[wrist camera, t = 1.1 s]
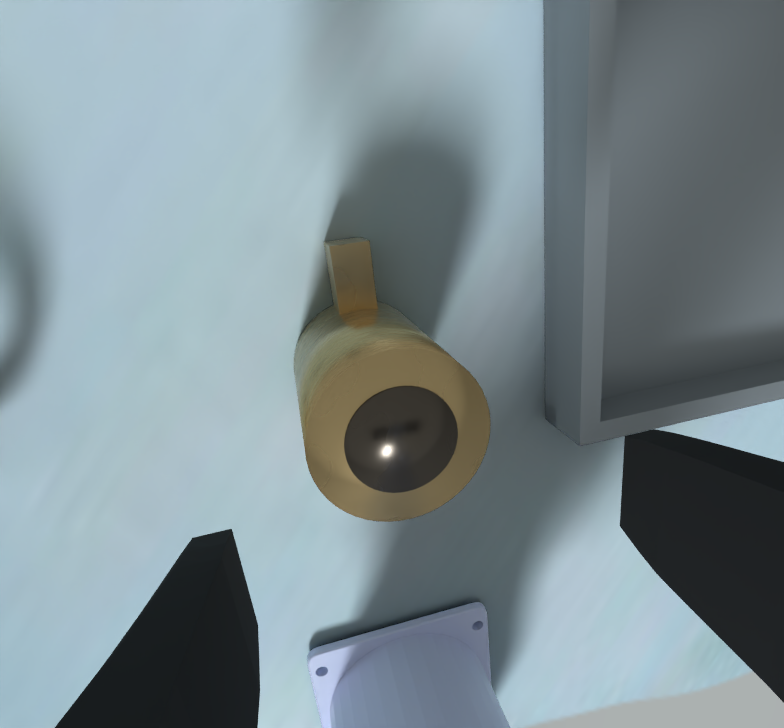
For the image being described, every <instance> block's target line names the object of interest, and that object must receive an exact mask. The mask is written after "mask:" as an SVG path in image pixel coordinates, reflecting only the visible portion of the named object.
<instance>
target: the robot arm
mask: <svg viewBox="0 0 784 728" xmlns="http://www.w3.org/2000/svg"><path fill="white" fill-rule="evenodd" d="M620 527H621V528H622V529H623V531H624V532H625V534H626V535H627V536H628V538H629V539H630V540H631V542H632V543H633V544H634V546H635V547H636V548H637V550H638V551H639V552H640V554H641V555H642V556H643V557H644V558H645V560H646V561H647V562H648V563H649V565H650V566H651V567H652V568H653V570H654V571H655V572H656V573H657V574H658V575H659V576H660V577H661V579H662V580H663V581H664V582H665V583H666V584H667V585H668V586H669V587H670V588H671V589H672V590H673V591H674V592H675V593H676V594H677V595H678V596H679V597H680V598H681V599H682V600H683V601H684V602H685V603H686V604H687V605H688V606H689V607H690V608H691V609H692V610H693V611H694V612H695V613H696V614H697V615H698V616H699V617H700V618H701V619H702V620H703V621H704V622H705V623H706V624H707V625H708V626H709V627H710V628H711V629H712V630H713V631H714V632H715V633H716V634H717V635H718V636H719V637H720V638H721V639H722V640H723V641H724V642H725V643H726V644H727V645H728V646H729V647H730V648H731V649H732V650H733V651H734V652H735V653H736V654H737V655H738V656H739V657H740V658H741V659H742V660H743V661H744V662H745V663H746V664H747V665H748V666H749V667H750V668H751V669H752V670H753V671H754V672H755V673H756V674H757V675H758V676H759V677H760V678H761V679H762V680H763V681H764V682H765V683H766V684H767V685H768V686H769V687H770V688H771V690H772V691H773V692H774V693H775V694H776V695H777V696H778V697H779V698H780V699H781V700H782V701H783V702H784V462H781V461H777V460H774V459H770V458H766V457H763V456H759V455H756V454H752V453H748V452H745V451H741V450H737V449H734V448H730V447H726V446H723V445H719V444H715V443H712V442H708V441H704V440H700V439H696V438H692V437H688V436H684V435H680V434H675V433H671V432H666V431H660V430H654V429H653V430H648V431H644V432H640V433H636V434H631V435H627V436H625V444H624V462H623V480H622V498H621V516H620ZM475 622H476V623H475ZM307 661H308V668H309V672H310V677H311V681H312V685H313V690H314V694H315V698H316V702H317V707H318V711H319V715H320V720H321V724H322V728H510V726H509V724H508V721H507V719H506V717H505V715H504V713H503V710H502V708H501V706H500V704H499V702H498V699H497V697H496V695H495V693H494V691H493V688H492V686H491V670H490V653H489V636H488V619H487V611H486V609H485V607H484V605H483V604H482V603H479V602H473V603H470V604H466V605H463V606H459V607H456V608H452V609H449V610H445V611H442V612H438V613H435V614H431V615H428V616H424V617H421V618H417V619H414V620H410V621H407V622H403V623H400V624H396V625H393V626H389V627H386V628H382V629H379V630H375V631H372V632H368V633H364V634H361V635H357V636H354V637H350V638H347V639H343V640H340V641H336V642H333V643H329V644H326V645H322V646H319V647H316V648H314V649H312V650H311V651H310V652H309V654H308V656H307ZM320 667H323V668H320ZM259 696H260V674H259V643H258V624H257V620H256V616H255V613H254V609H253V605H252V602H251V598H250V594H249V591H248V587H247V583H246V580H245V576H244V572H243V569H242V565H241V561H240V558H239V554H238V550H237V547H236V543H235V539H234V536H233V532H232V529H229V530H225V531H220V532H216V533H212V534H208V535H203V536H199V537H195V538H192V540H191V541H190V542H189V544H188V545H187V546H186V548H185V549H184V551H183V552H182V553H181V555H180V556H179V558H178V559H177V561H176V562H175V564H174V565H173V567H172V568H171V570H170V571H169V573H168V574H167V575H166V577H165V578H164V580H163V581H162V583H161V584H160V586H159V587H158V589H157V590H156V592H155V593H154V595H153V596H152V597H151V599H150V600H149V602H148V603H147V605H146V606H145V608H144V609H143V611H142V612H141V613H140V615H139V616H138V618H137V619H136V620H135V622H134V623H133V625H132V626H131V627H130V629H129V630H128V632H127V633H126V634H125V636H124V637H123V639H122V640H121V641H120V643H119V644H118V646H117V647H116V648H115V650H114V651H113V653H112V654H111V655H110V657H109V658H108V659H107V661H106V662H105V663H104V665H103V666H102V667H101V669H100V670H99V672H98V673H97V674H96V675H95V677H94V678H93V679H92V681H91V682H90V683H89V684H88V686H87V687H86V688H85V690H84V691H83V692H82V693H81V695H80V696H79V697H78V699H77V700H76V701H75V702H74V704H73V705H72V706H71V708H70V709H69V710H68V711H67V713H66V714H65V715H64V717H63V718H62V719H61V720H60V722H59V723H58V724H57V726H56V727H55V728H257V725H258V711H259Z"/></svg>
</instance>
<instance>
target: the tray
mask: <svg viewBox="0 0 784 728" xmlns="http://www.w3.org/2000/svg"><path fill="white" fill-rule="evenodd" d="M544 187H545V417H546V420H548V421H549V422H550V423H551V424H553V425H554V426H555V427H556V428H558V429H559V430H560V431H561V432H563V433H564V434H565V435H567V436H568V437H569V438H570V439H572V440H573V441H574V442H575V443H577V444H578V445H579V446H583V445H587V444H591V443H595V442H600V441H604V440H608V439H613V438H617V437H621V436H625V435H630V434H634V433H638V432H643V431H647V430H651V429H655V428H660V427H664V426H668V425H672V424H677V423H681V422H685V421H690V420H694V419H698V418H702V417H707V416H711V415H715V414H720V413H724V412H728V411H732V410H737V409H741V408H745V407H749V406H754V405H758V404H762V403H767V402H771V401H775V400H779V399H784V0H544Z"/></svg>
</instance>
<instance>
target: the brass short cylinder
mask: <svg viewBox="0 0 784 728" xmlns="http://www.w3.org/2000/svg"><path fill="white" fill-rule="evenodd" d="M324 246H325V253H326V259H327V266H328V272H329V278H330V285H331V291H332V298H333V304H334V305H332V306H330V307H328V308H327V309H325V310H323V311H322V312H321V313H319V314H318V315H317V316H316V317H315V318H314V319H312V320H311V322H310V323H309V324H308V325H307V326H306V328H305V329H304V331H303V333H302V334H301V336H300V338H299V341H298V343H297V346H296V349H295V355H294V374H295V381H296V388H297V396H298V403H299V410H300V417H301V425H302V432H303V439H304V446H305V453H306V461H307V464H308V468H309V471H310V474H311V476H312V478H313V480H314V482H315V484H316V485H317V487H318V488H319V490H320V491H321V492H322V494H323V495H324V496H325V497H326V498H327V499H328V500H329V501H330V502H332V503H333V504H334V505H335V506H337V507H338V508H340V509H341V510H343V511H345V512H347V513H349V514H351V515H353V516H356V517H359V518H363V519H367V520H373V521H385V522H390V521H401V520H406V519H411V518H415V517H418V516H421V515H424V514H426V513H429V512H431V511H433V510H435V509H437V508H438V507H440V506H442V505H444V504H445V503H446V502H448V501H449V500H451V499H452V498H453V497H454V496H456V495H457V494H458V493H459V492H460V491H461V490H462V489H463V488H464V487H465V486H466V485H467V484H468V483H469V481H470V480H471V479H472V477H473V476H474V474H475V473H476V471H477V470H478V468H479V466H480V464H481V462H482V460H483V458H484V455H485V453H486V449H487V446H488V442H489V436H490V413H489V408H488V404H487V400H486V398H485V395H484V393H483V391H482V389H481V387H480V386H479V384H478V382H477V381H476V379H475V378H474V377H473V376H472V375H471V374H470V372H469V371H467V370H466V369H465V368H464V367H463V366H462V365H461V364H459V363H458V362H457V361H456V360H455V359H454V358H452V357H451V356H450V355H449V354H448V353H447V352H446V351H444V350H443V349H442V348H441V347H440V346H439V345H437V344H436V343H435V342H434V341H433V340H432V339H431V338H429V337H428V336H427V335H426V334H425V333H424V332H422V331H421V330H420V329H419V328H418V327H417V326H416V325H414V324H413V323H412V322H411V321H410V320H409V319H408V318H406V317H405V316H404V315H403V314H402V313H401V312H399V311H398V310H396V309H395V308H393V307H392V306H390V305H387V304H385V303H382V302H379V301H377V298H376V290H375V282H374V274H373V266H372V258H371V249H370V241H369V240H366V239H364V238H362V237H356V238H349V239H341V240H334V241H327V242H324Z"/></svg>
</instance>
